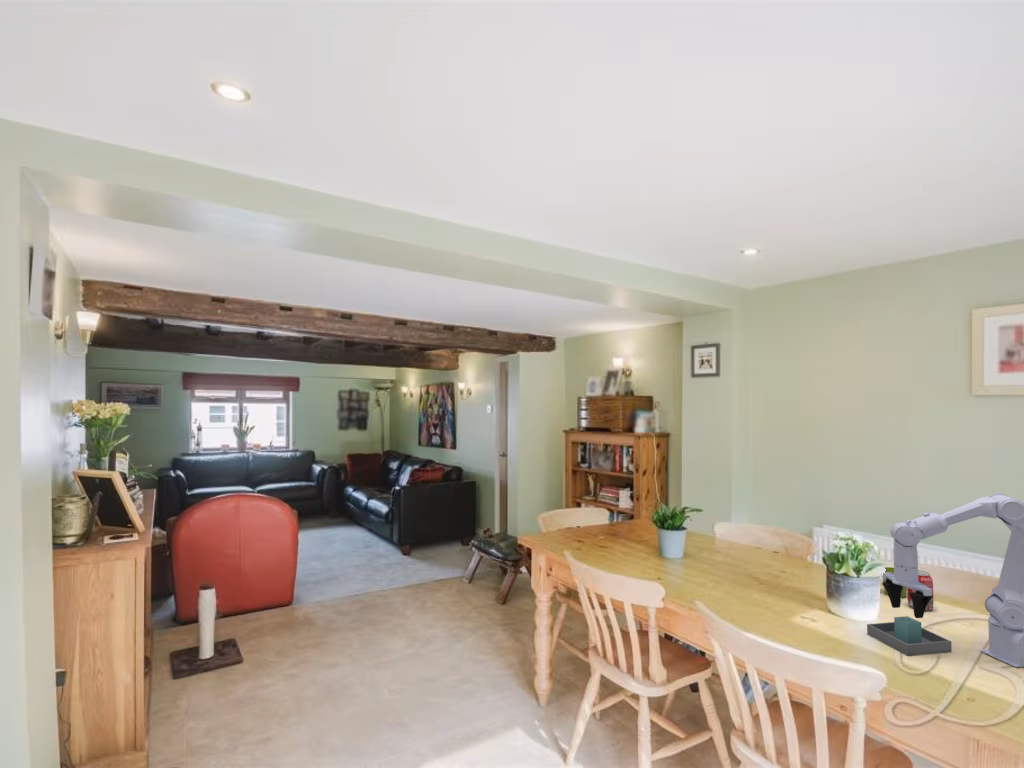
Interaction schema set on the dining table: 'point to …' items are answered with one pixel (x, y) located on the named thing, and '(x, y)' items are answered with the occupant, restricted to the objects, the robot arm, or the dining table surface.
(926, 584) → the soda can
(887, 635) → the tray
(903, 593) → the plant pot
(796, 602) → the dining table surface
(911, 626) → the teal block
